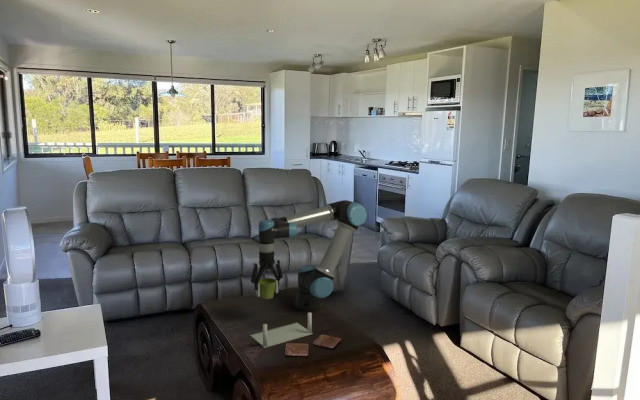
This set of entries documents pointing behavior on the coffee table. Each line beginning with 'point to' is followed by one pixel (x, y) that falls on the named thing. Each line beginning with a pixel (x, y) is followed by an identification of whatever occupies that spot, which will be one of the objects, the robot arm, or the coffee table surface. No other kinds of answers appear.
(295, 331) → the mat
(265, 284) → the plant pot
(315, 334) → the coffee table surface
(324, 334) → the coffee table surface
